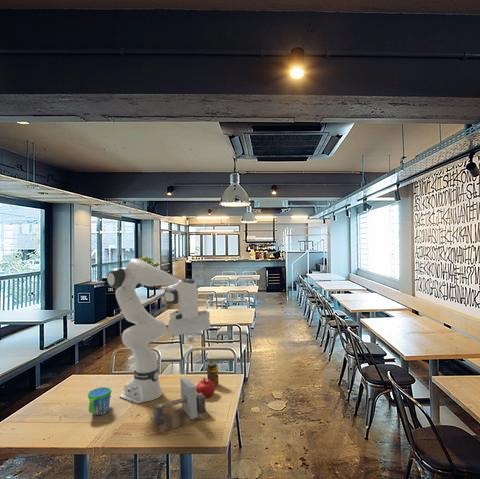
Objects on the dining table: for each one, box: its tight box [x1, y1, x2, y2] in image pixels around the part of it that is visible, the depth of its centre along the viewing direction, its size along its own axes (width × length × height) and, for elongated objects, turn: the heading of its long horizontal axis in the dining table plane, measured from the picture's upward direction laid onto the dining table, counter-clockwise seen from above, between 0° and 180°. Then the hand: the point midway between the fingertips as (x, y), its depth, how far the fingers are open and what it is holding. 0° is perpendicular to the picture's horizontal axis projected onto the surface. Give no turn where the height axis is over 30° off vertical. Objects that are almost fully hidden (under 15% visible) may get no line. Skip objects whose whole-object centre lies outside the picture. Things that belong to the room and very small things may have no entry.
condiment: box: [206, 362, 222, 389], centre depth 198 cm, size 7×8×12 cm
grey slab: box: [179, 376, 197, 419], centre depth 166 cm, size 3×13×14 cm, turn 28°
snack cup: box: [87, 386, 112, 415], centre depth 174 cm, size 16×10×10 cm
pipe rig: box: [150, 393, 211, 434], centre depth 164 cm, size 24×14×9 cm, turn 118°
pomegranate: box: [195, 377, 216, 398], centre depth 187 cm, size 10×10×9 cm
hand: (190, 341), depth 169 cm, fingers closed
